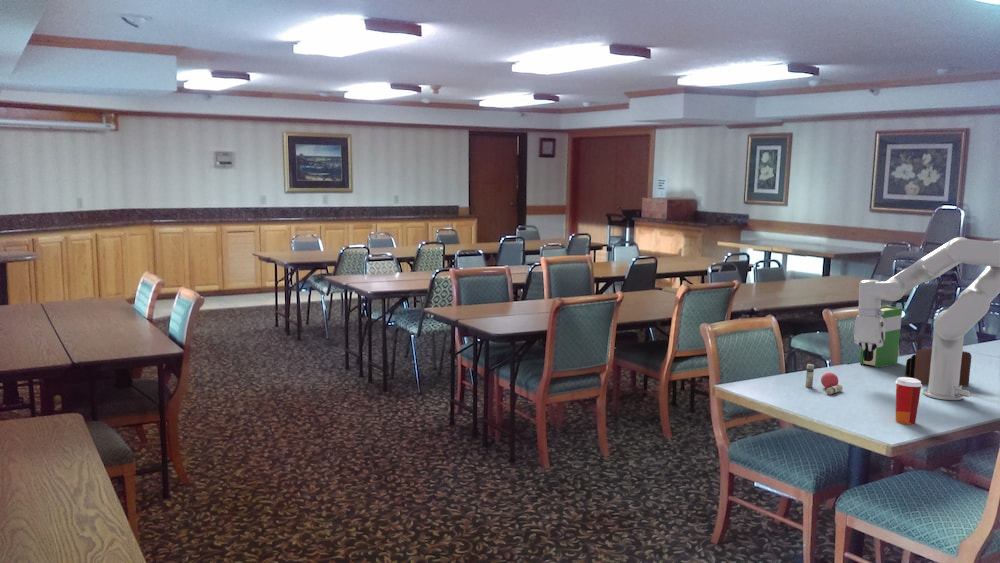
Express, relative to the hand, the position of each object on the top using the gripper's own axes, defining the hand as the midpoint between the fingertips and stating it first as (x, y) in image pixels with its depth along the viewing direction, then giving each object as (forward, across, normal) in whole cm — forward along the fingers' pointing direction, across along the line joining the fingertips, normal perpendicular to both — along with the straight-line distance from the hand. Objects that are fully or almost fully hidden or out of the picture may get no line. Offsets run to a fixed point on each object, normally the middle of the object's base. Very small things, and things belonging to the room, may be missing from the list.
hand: (868, 360), depth 291 cm
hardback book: (+10, +17, -41) cm, 46 cm away
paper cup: (+11, -30, +34) cm, 47 cm away
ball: (+6, +6, +16) cm, 18 cm away
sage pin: (+9, +12, +21) cm, 25 cm away
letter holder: (+11, -11, -31) cm, 35 cm away
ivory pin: (+8, +2, +16) cm, 18 cm away
